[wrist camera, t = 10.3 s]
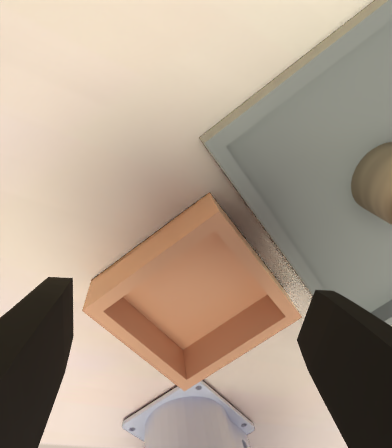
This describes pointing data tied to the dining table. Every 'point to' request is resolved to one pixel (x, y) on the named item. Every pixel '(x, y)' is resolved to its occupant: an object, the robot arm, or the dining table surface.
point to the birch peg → (375, 182)
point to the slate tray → (320, 159)
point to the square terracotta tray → (191, 296)
